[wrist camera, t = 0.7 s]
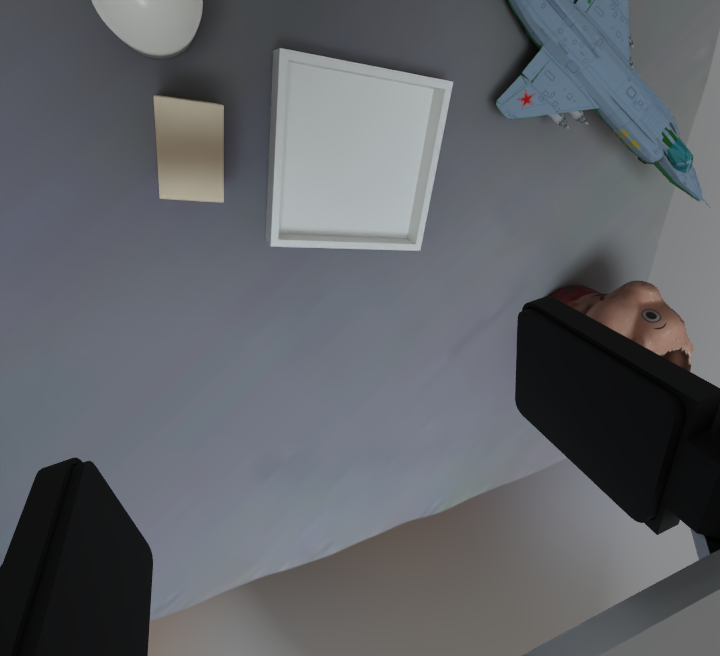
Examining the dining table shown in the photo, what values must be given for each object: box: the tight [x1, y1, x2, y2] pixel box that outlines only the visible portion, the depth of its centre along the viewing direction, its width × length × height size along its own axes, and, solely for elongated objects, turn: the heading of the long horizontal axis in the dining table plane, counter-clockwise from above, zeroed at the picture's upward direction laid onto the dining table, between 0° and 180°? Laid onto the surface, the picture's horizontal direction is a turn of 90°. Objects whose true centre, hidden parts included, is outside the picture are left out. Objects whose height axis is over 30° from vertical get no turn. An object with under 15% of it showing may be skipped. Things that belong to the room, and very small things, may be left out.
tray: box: [265, 48, 453, 251], centre depth 37 cm, size 14×14×2 cm
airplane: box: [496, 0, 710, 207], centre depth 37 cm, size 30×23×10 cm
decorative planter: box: [551, 281, 693, 372], centre depth 51 cm, size 20×12×14 cm, turn 3°
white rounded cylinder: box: [91, 0, 203, 59], centre depth 26 cm, size 6×6×7 cm
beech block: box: [154, 95, 224, 203], centre depth 31 cm, size 6×4×6 cm, turn 172°
